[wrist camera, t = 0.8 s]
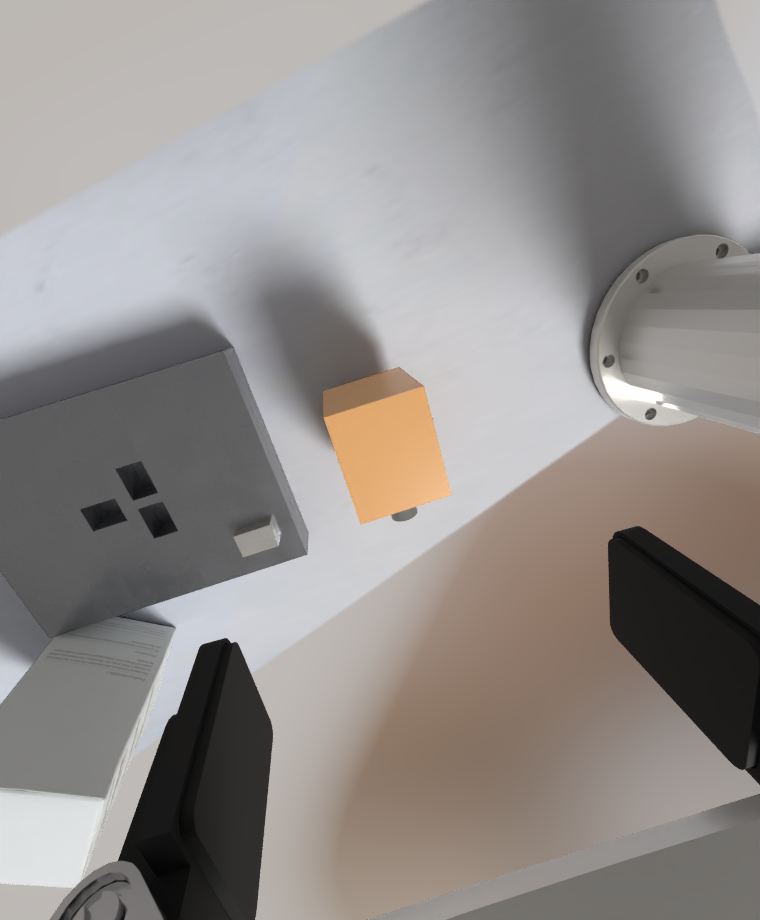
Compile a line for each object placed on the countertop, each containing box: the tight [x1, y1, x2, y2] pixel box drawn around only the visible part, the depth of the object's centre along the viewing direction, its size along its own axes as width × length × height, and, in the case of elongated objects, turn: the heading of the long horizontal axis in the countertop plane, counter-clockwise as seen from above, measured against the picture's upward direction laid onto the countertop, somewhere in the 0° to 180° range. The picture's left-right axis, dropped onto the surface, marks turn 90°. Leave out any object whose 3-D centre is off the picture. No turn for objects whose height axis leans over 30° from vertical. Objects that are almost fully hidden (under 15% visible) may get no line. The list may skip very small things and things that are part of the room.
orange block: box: [323, 367, 451, 524], centre depth 26 cm, size 8×5×9 cm, turn 16°
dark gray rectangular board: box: [0, 347, 308, 638], centre depth 28 cm, size 18×14×4 cm
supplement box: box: [0, 617, 176, 888], centre depth 28 cm, size 7×7×13 cm
